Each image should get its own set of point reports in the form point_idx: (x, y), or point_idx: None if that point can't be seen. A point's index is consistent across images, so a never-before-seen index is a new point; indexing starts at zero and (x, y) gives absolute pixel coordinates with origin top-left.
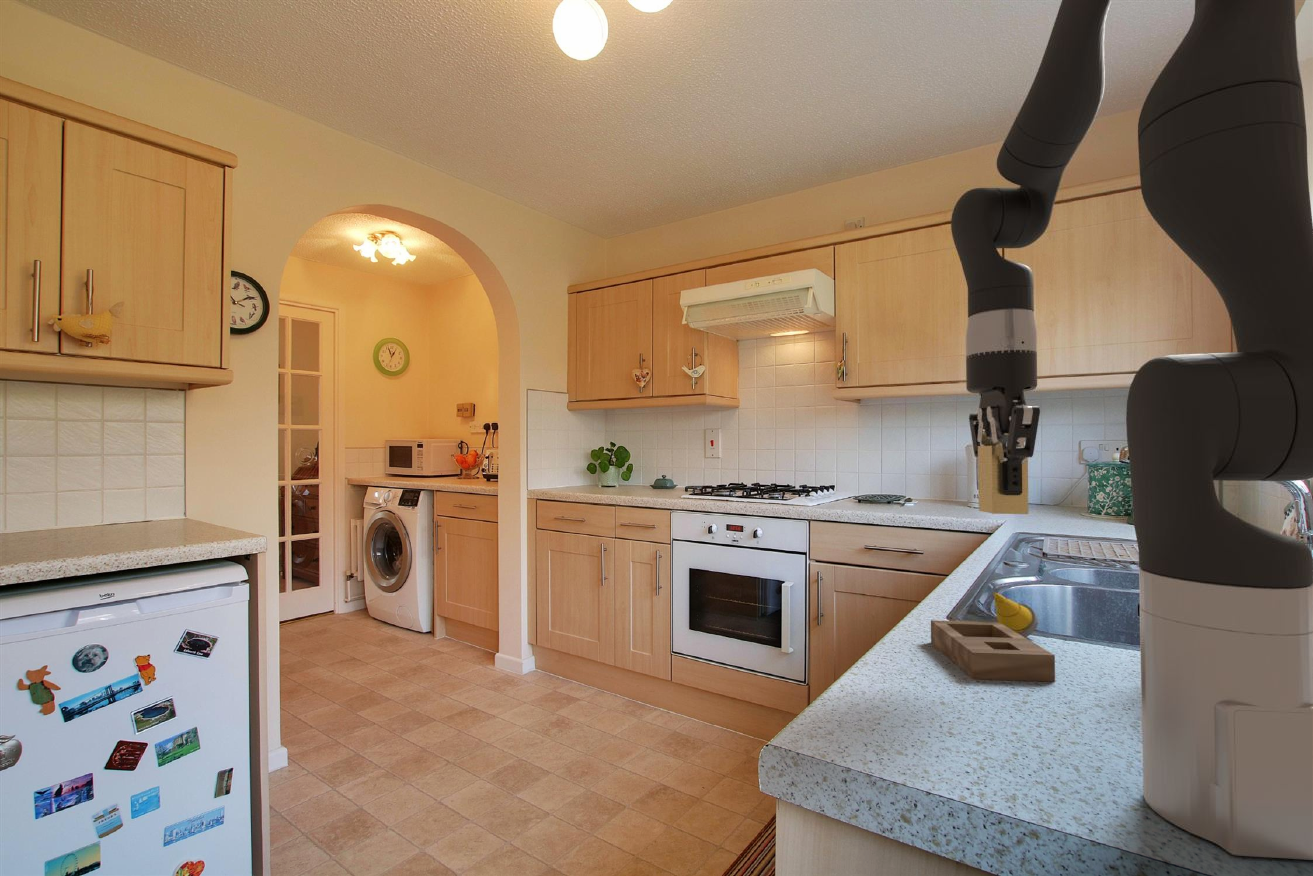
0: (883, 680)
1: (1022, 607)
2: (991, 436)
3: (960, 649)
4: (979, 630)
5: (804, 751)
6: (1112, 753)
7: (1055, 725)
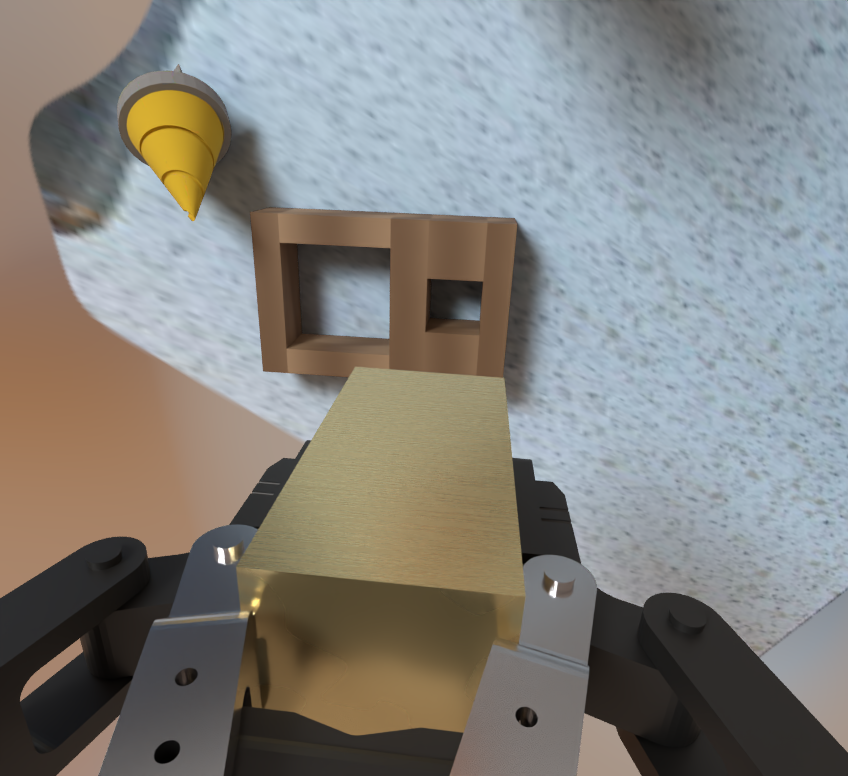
0: None
1: (176, 117)
2: (14, 693)
3: None
4: (286, 270)
5: None
6: (817, 310)
7: (711, 337)
